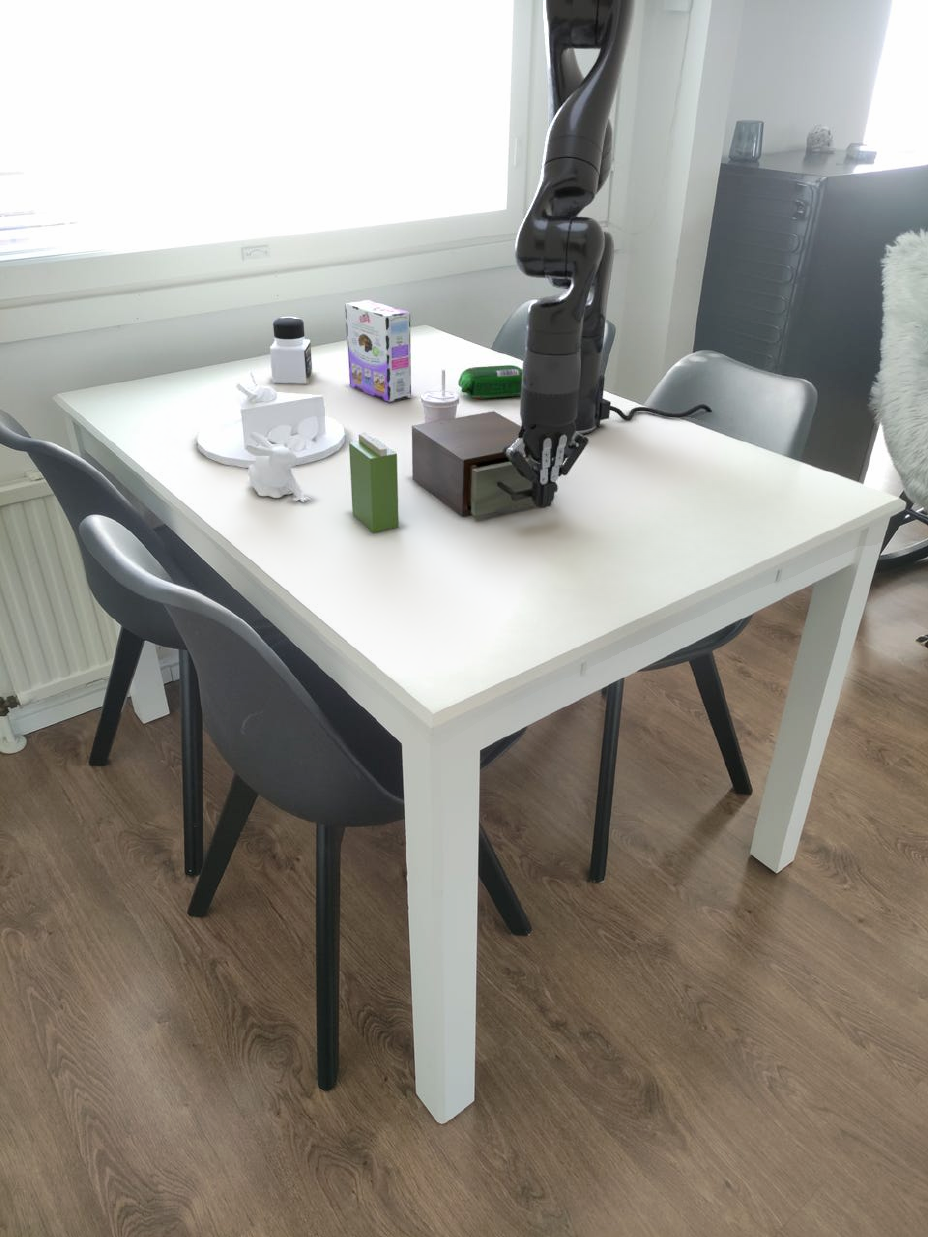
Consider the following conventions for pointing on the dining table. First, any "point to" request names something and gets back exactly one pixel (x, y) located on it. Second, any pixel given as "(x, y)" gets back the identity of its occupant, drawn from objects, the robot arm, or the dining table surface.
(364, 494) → the green rectangular block
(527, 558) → the dining table surface
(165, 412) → the dining table surface
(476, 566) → the dining table surface
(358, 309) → the candy box
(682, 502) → the dining table surface
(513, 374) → the snack package
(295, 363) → the medicine bottle
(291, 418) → the dish
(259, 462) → the rabbit figurine
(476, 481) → the drawer
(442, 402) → the smoothie
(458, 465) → the cabinet
